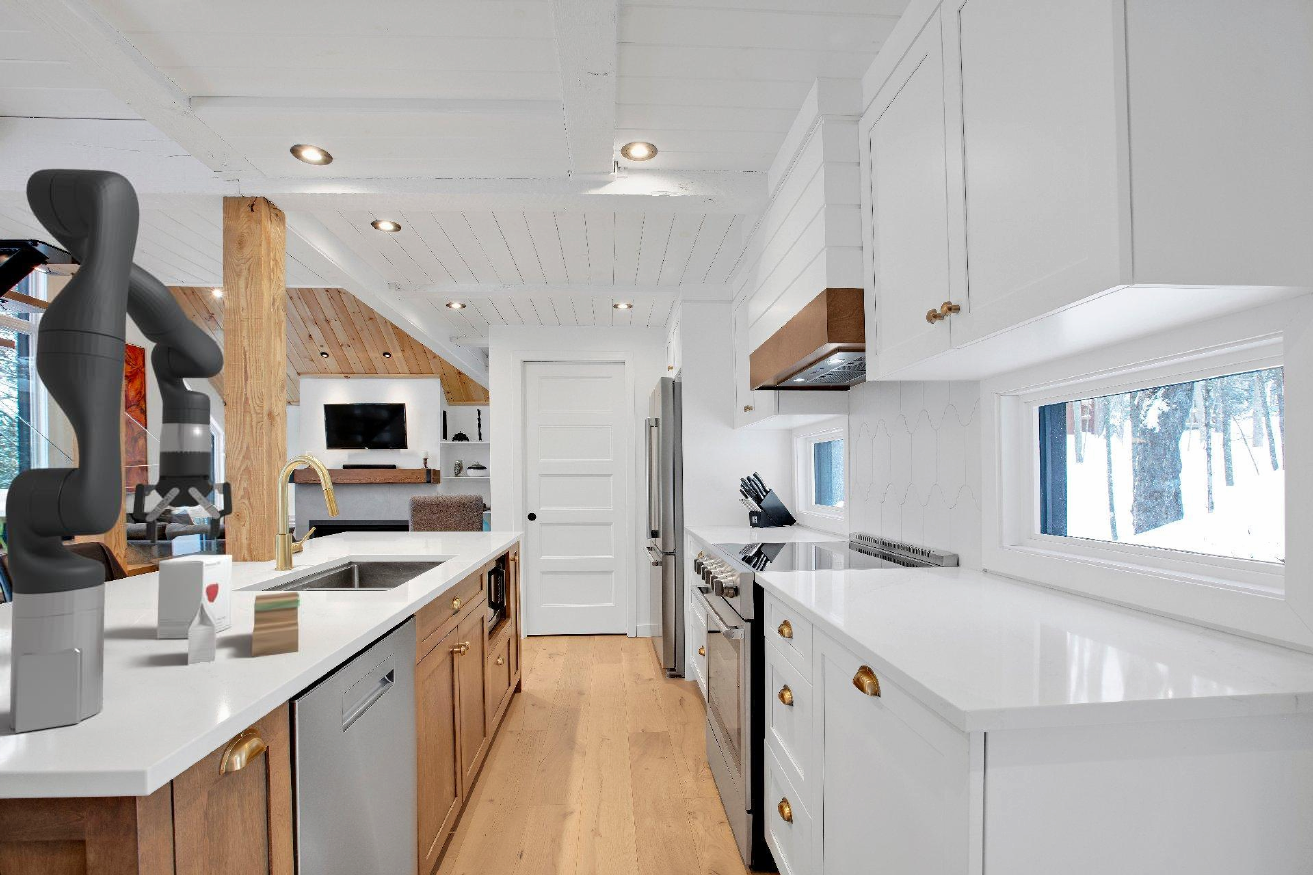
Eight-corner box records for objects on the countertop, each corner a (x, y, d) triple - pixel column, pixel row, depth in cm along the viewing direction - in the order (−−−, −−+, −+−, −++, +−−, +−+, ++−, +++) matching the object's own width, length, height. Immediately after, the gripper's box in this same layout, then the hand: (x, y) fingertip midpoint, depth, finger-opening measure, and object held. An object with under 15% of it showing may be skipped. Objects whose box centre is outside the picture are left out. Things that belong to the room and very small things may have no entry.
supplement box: (201, 639, 126) (203, 560, 127) (155, 639, 126) (156, 561, 127) (233, 627, 135) (233, 553, 136) (189, 627, 135) (190, 554, 136)
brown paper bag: (300, 650, 118) (300, 605, 118) (252, 657, 114) (252, 610, 115) (298, 631, 131) (298, 591, 131) (255, 637, 127) (256, 595, 128)
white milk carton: (215, 651, 118) (216, 595, 118) (214, 661, 112) (215, 602, 113) (190, 655, 116) (191, 598, 116) (188, 665, 110) (188, 605, 111)
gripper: (131, 449, 111) (129, 546, 110) (232, 449, 118) (230, 540, 117) (139, 450, 117) (136, 542, 117) (234, 450, 125) (232, 537, 124)
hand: (183, 541), depth 117 cm, fingers open, 8 cm apart
